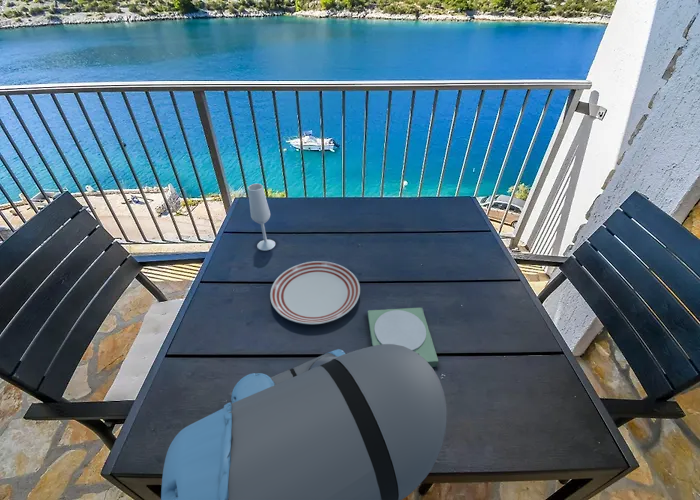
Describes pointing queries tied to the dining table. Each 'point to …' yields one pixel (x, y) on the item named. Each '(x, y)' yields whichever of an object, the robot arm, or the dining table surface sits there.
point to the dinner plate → (315, 292)
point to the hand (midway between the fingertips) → (421, 404)
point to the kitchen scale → (403, 331)
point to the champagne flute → (260, 213)
